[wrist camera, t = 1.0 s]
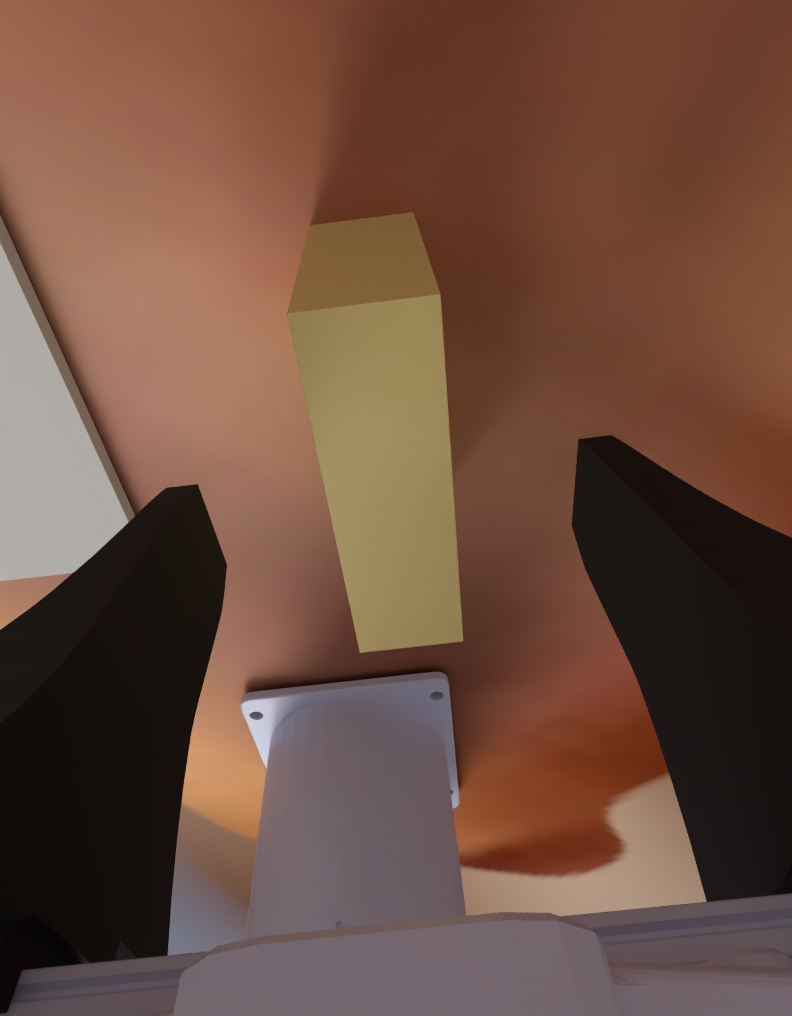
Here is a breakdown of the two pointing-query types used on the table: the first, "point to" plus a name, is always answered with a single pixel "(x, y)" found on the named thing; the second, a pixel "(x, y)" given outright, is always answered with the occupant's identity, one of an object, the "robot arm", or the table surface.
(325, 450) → the block
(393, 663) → the table surface
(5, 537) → the mat
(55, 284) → the table surface
